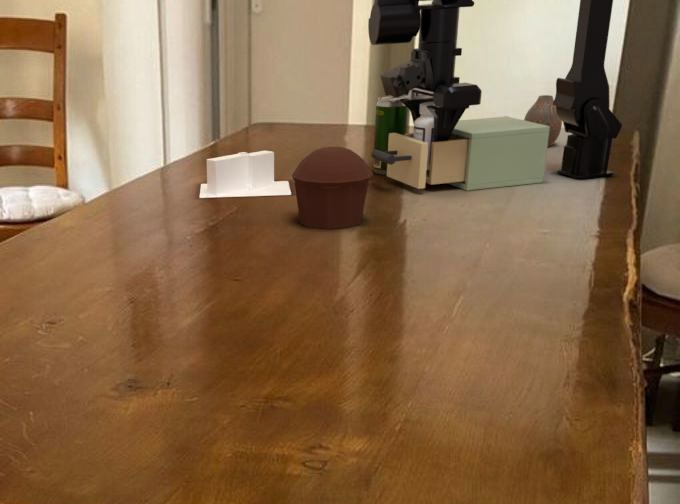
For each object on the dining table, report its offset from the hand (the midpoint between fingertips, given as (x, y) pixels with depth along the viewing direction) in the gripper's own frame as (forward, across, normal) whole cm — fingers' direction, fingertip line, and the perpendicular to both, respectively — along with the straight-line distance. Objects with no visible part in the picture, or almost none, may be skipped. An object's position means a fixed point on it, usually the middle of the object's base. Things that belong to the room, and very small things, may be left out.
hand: (430, 148), depth 161 cm
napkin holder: (+6, -11, -28) cm, 30 cm away
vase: (+6, -23, +35) cm, 43 cm away
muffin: (+6, +16, -24) cm, 29 cm away
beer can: (+6, -13, -1) cm, 14 cm away
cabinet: (+6, 0, +10) cm, 12 cm away
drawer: (+5, 0, 0) cm, 5 cm away
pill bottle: (+3, 0, 0) cm, 3 cm away
